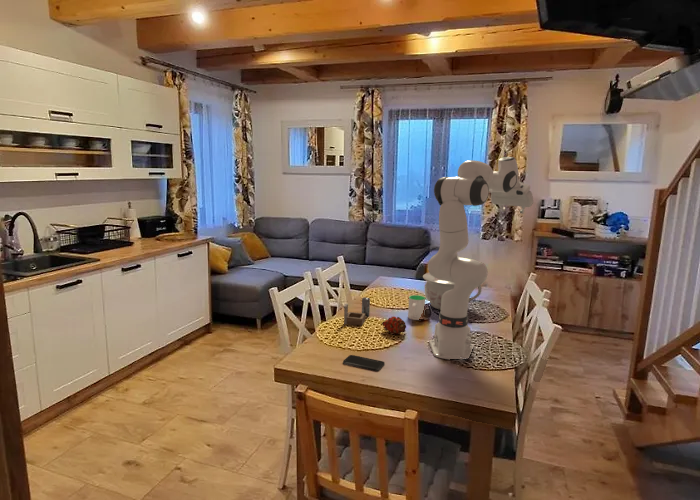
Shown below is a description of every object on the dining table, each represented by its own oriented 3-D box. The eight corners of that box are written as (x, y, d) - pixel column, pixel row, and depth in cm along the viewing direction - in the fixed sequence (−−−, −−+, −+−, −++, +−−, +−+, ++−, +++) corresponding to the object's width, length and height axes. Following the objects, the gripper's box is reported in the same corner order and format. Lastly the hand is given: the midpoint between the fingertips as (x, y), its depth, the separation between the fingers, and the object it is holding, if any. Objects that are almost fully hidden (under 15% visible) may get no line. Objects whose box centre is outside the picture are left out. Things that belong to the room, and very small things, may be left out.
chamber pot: (411, 302, 253) (413, 266, 250) (451, 297, 265) (453, 263, 261) (441, 318, 229) (443, 278, 225) (483, 312, 240) (487, 274, 236)
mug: (421, 323, 221) (422, 303, 219) (405, 321, 224) (406, 301, 222) (425, 315, 232) (426, 296, 230) (409, 313, 235) (410, 294, 233)
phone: (378, 369, 169) (342, 361, 175) (378, 372, 169) (341, 364, 175) (385, 361, 176) (350, 354, 182) (385, 364, 176) (350, 356, 182)
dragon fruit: (407, 339, 204) (382, 338, 210) (411, 324, 210) (387, 323, 215) (401, 328, 199) (376, 327, 205) (406, 313, 204) (381, 312, 210)
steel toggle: (368, 317, 228) (369, 300, 226) (360, 316, 229) (361, 299, 227) (370, 314, 232) (370, 297, 230) (362, 313, 233) (362, 297, 231)
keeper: (361, 327, 214) (361, 307, 212) (343, 325, 216) (343, 305, 214) (365, 320, 224) (365, 300, 222) (348, 318, 226) (348, 299, 224)
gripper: (487, 189, 225) (490, 213, 232) (528, 192, 211) (530, 217, 219) (492, 183, 228) (495, 206, 235) (533, 185, 215) (535, 210, 222)
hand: (512, 211), depth 227 cm, fingers open, 8 cm apart
